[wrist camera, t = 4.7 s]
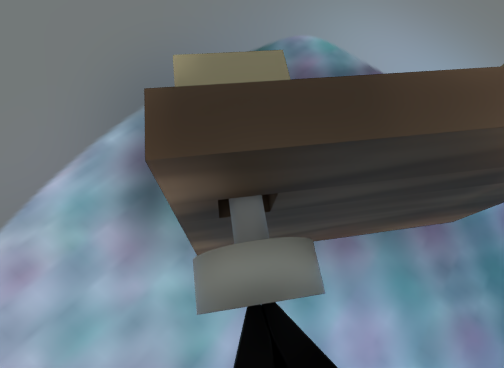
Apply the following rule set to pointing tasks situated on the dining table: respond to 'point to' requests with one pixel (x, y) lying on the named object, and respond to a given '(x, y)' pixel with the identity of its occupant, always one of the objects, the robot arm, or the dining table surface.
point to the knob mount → (329, 152)
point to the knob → (248, 211)
